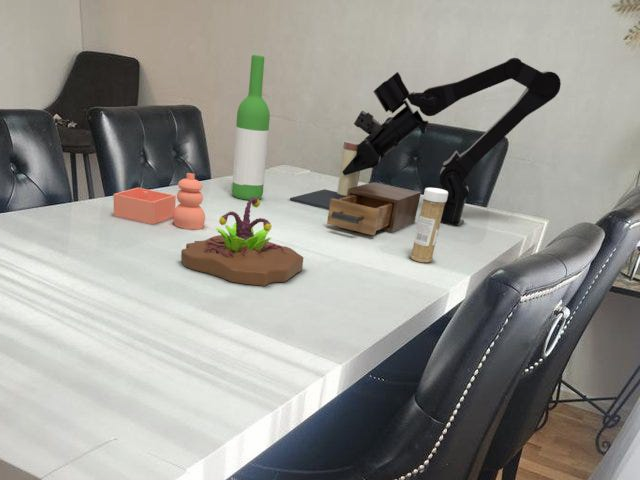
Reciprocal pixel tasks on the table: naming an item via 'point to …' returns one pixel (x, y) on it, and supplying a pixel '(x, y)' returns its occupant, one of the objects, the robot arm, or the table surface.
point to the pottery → (163, 205)
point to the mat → (318, 198)
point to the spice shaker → (348, 155)
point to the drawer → (360, 213)
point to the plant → (243, 253)
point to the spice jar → (428, 224)
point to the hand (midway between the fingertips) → (344, 172)
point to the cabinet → (400, 197)
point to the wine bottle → (251, 137)
